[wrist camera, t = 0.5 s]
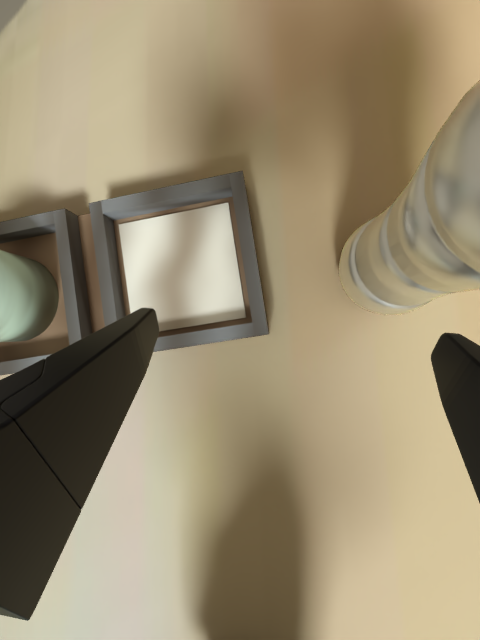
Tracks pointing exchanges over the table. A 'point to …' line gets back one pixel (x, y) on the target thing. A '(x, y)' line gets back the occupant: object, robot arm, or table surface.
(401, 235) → the plastic bottle
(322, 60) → the table surface
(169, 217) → the grey flat tray
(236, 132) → the table surface
